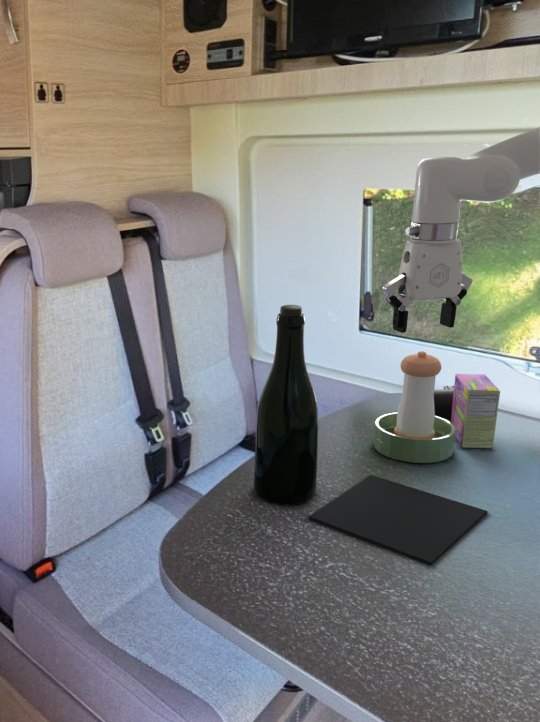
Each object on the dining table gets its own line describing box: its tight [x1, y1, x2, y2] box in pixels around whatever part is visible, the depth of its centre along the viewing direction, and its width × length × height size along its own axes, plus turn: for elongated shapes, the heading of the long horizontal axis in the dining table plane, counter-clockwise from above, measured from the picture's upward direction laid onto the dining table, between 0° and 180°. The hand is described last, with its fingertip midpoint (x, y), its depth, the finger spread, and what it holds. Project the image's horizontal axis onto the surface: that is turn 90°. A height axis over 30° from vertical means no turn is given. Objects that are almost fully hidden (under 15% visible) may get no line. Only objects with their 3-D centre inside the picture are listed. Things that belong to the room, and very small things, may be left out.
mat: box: [308, 474, 488, 566], centre depth 115 cm, size 20×20×1 cm
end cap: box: [434, 385, 454, 421], centre depth 151 cm, size 10×7×7 cm
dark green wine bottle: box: [253, 304, 319, 506], centre depth 119 cm, size 10×10×33 cm
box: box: [450, 373, 501, 449], centre depth 140 cm, size 10×6×12 cm, turn 168°
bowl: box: [372, 411, 456, 464], centre depth 138 cm, size 14×14×5 cm
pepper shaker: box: [394, 350, 442, 439], centre depth 135 cm, size 7×7×19 cm
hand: (423, 328), depth 131 cm, fingers open, 9 cm apart
